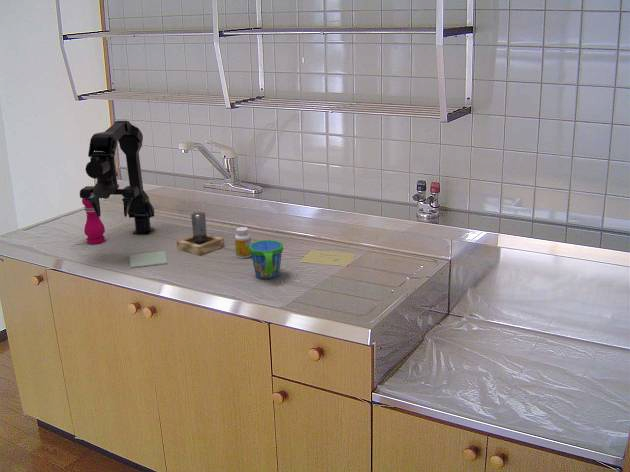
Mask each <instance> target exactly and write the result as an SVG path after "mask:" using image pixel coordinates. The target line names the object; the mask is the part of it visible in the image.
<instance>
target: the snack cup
mask: <svg viewBox="0 0 630 472" xmlns="http://www.w3.org/2000/svg"><path fill="white" fill-rule="evenodd" d="M249 251H250V253H251V260H252V265H253V269H254V275H255V276H256V277H257V278H258V279H263V280H271V279H274V278H277V277H279V275H280V270H281V261H282V253H283V251H284V244H283V243H282V242H281V241H278V240H274V239H273V240H272V239H266V240H265V239H264V240H258V241H254V242H251V245H250V246H249Z"/></svg>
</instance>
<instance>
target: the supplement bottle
mask: <svg viewBox="0 0 630 472" xmlns="http://www.w3.org/2000/svg"><path fill="white" fill-rule="evenodd" d="M234 243H235V244H234V246H235V257H236V258H239V259H247V258H250V257H252V255H251V253H250V251H249V246H250V245H251V244H252V238H251V234H250V233H249V228H248V227H246V226H241V227H237V228H236V234H235V236H234Z"/></svg>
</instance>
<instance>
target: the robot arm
mask: <svg viewBox="0 0 630 472" xmlns="http://www.w3.org/2000/svg"><path fill="white" fill-rule="evenodd" d="M143 138H144V136H143V133H142V131H141V130H140V128H139V127H137V126H135V125H133V124H132V123H131V122H130V121H128V120H116V121H114V122H113V124H112V125H111V126H110V127H108V128H107V129H105V131H103V132H96V133H93V135H92V136H91V138H90V139H89V140H90V141H89V148H88V152H87V153H88V155H87V157H88V158H89V159H90V161H89V162H87V163H86V165H85V173H86V175H87V176H88V177H89V178H92V179H97V180H96V183H95V185H94V186H93V185H88V186H87V185H86V186H84V187H83V188H81V189H80V190H79V198H80V199H82V198H85V199H84V200H87V201H88V202H90V203H91V205H92V206H93V208H94V210H95V212H96V214H97V215H98V217H99V218H100V217H101V204H100V199H105V200H106V199H109V198H110V197H111V196H112V195H114V196H115V195H116V196H117V195H118V196H119V195H121V196H122V197H123V198H121V199H122V203H123V215H124V218H127V217H128V218H129V219H130V218H131V219H132V218H133V219H134V227H135V230H133V232H132V235H138V234H139V235H150V234H151V233H152V232H153V230H154V229H155V228H154V227H152V226H151V218H153V217H155V208H154V206H153V205H152V203H151V202H150V198H149V195H148V193H146V191H145V190H144V185H143V176H142V168H141V161H140V160H141V159H140V151H141V148H142V147H143V140H144V139H143ZM118 144H119V149H120V150H121V151H122V152H123V154H124V155H125V160H126V167H127V175H128V184H129V185H127V186H125V187H124V188H120V184H119V183H118V176H119V175H118V172H117V168H116V159H115V156H116V150H117V146H118Z"/></svg>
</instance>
